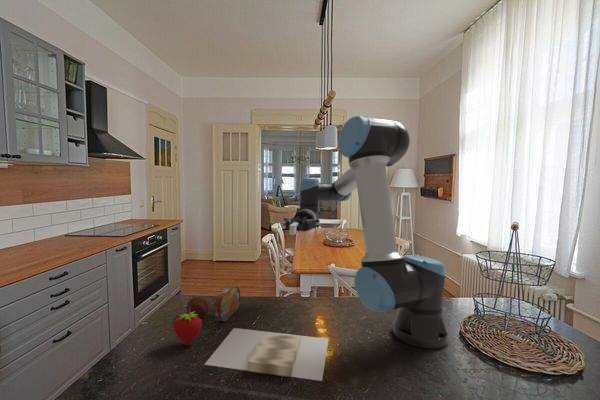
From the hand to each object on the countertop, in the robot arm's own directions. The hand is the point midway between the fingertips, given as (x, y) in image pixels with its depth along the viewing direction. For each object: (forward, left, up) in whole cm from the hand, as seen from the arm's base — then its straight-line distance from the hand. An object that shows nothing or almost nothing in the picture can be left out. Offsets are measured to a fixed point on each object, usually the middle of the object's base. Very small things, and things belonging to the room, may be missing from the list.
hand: (292, 230), depth 88 cm
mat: (+2, +13, -30) cm, 33 cm away
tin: (+22, -5, -30) cm, 38 cm away
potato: (+31, -2, -30) cm, 43 cm away
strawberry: (+25, +14, -30) cm, 42 cm away
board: (0, +10, -28) cm, 30 cm away
